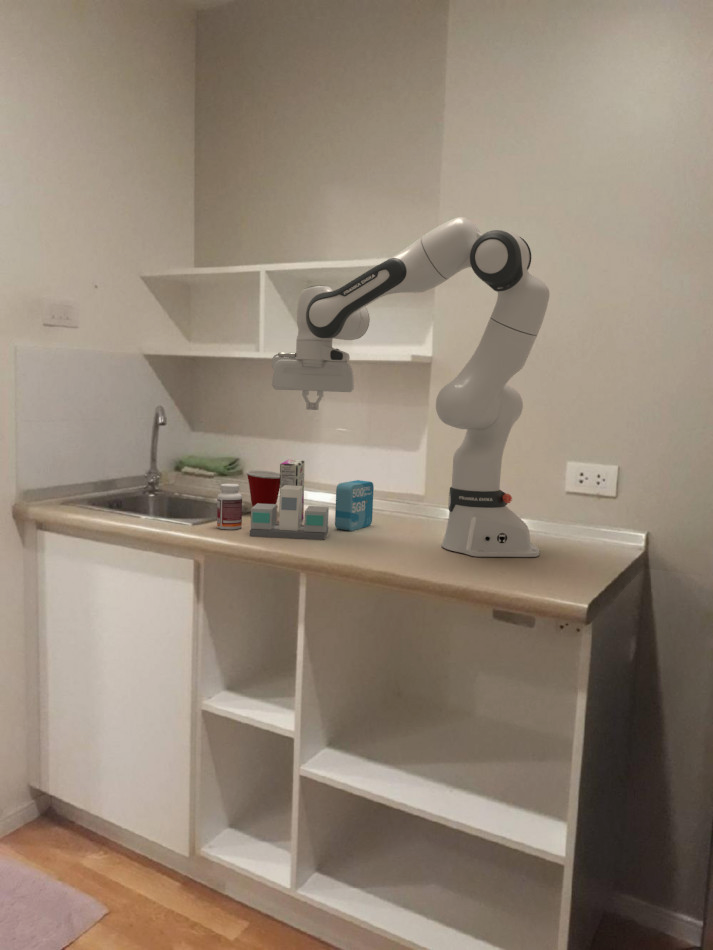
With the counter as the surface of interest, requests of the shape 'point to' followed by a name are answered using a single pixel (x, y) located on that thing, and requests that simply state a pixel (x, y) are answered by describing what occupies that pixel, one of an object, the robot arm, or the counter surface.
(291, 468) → the candy bar box
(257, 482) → the plastic cup
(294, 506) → the module block
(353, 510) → the data package
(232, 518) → the pill bottle
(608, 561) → the counter surface
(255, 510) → the teal-tagged twin block base
